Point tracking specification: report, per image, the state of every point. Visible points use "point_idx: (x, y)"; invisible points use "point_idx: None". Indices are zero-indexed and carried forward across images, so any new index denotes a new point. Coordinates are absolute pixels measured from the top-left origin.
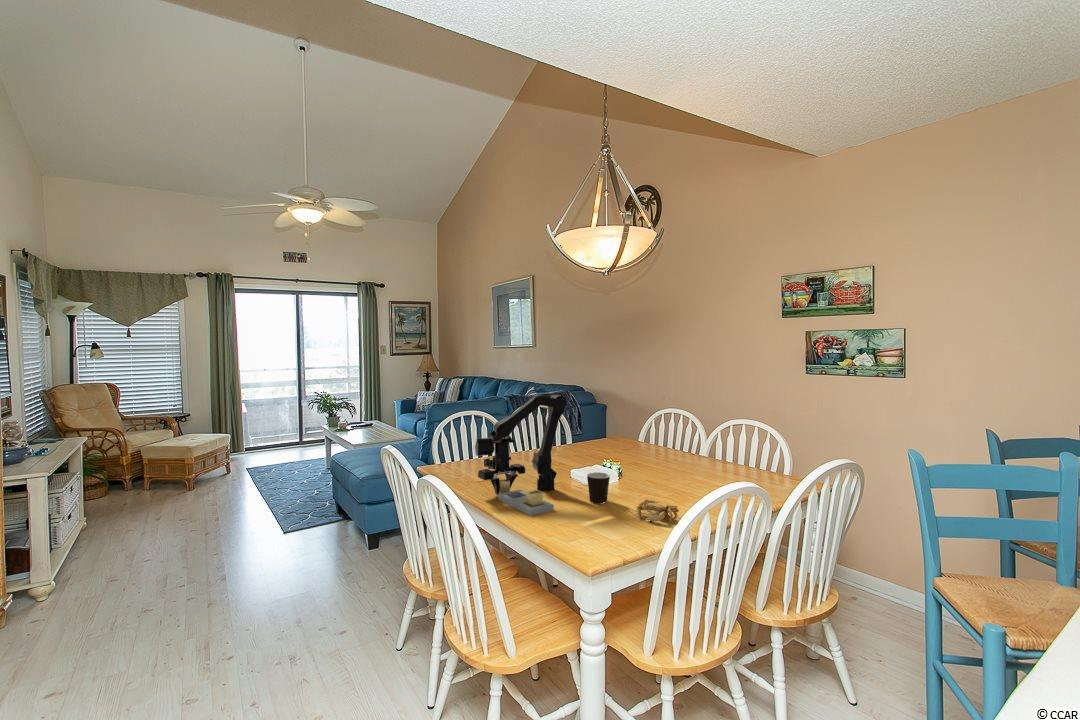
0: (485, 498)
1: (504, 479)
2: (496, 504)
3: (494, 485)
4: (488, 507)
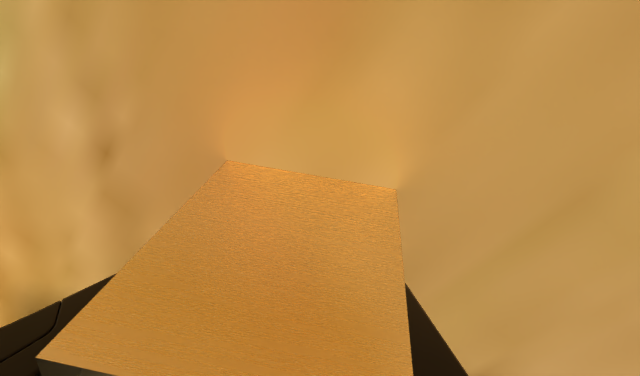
0: (66, 172)
1: None
2: None
3: None
4: None
